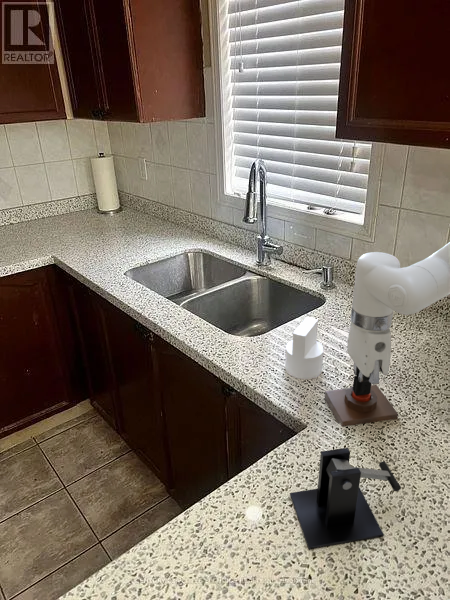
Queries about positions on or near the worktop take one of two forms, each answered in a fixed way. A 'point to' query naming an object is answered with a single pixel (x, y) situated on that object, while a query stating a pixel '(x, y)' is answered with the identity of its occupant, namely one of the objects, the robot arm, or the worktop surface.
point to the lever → (366, 472)
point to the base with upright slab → (304, 351)
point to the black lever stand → (335, 507)
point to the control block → (359, 407)
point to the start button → (361, 397)
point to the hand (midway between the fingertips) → (361, 392)
